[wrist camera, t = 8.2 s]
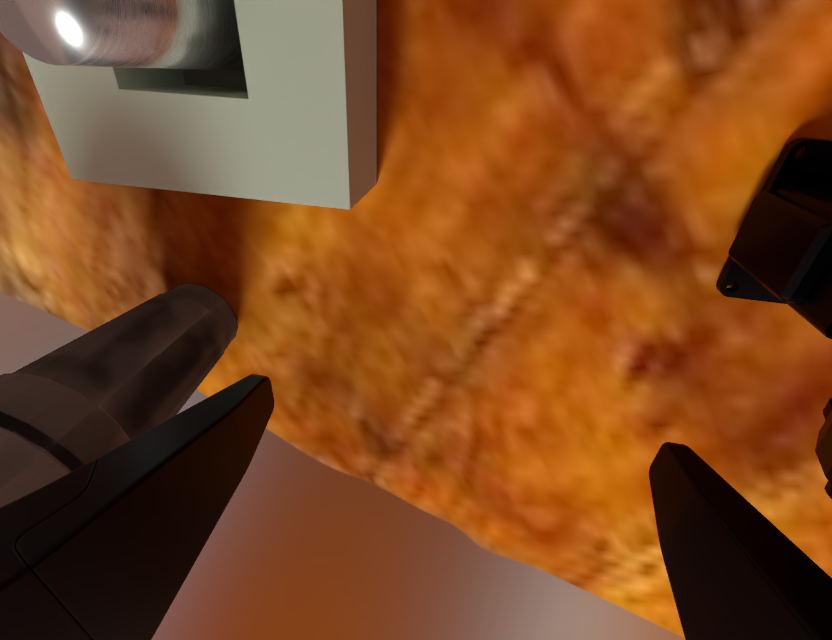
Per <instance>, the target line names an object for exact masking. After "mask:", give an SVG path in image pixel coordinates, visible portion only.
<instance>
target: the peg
mask: <svg viewBox="0 0 832 640" xmlns="http://www.w3.org/2000/svg"><path fill="white" fill-rule="evenodd" d="M0 32H1V33H2V34H3V35H4V37H6V38H7V39H8V40H9V41H10V42H11V43H12V44H13V45H14V46H16V47H17V48H18V49H20V50H21V51H22V52H24V53H25V54H27V55H29V56H30V57H32V58H34V59H36V60H38V61H41V62H44V63H47V64H51V65H63V66H96V67H130V68H163V69H196V70H230V71H241V70H244V64H243V58H242V51H241V44H240V37H239V31H238V24H237V17H236V10H235V4H234V0H0Z"/></svg>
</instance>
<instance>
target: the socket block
mask: <svg viewBox="0 0 832 640" xmlns="http://www.w3.org/2000/svg"><path fill="white" fill-rule="evenodd" d="M234 4H235V10H236V17H237V24H238V31H239V37H240V44H241V51H242V58H243V64H244V70H241V71H230V70H196V69H163V68H130V67H96V66H63V65H51V64H47V63H44V62H41V61H38V60H36V59H34V58H32V57H30V56H29V55H27V54H25V53H24V52H23V55H24V57H25V60H26V62H27V65H28V67H29V70H30V73H31V75H32V78H33V80H34V83H35V85H36V88H37V90H38V93H39V96H40V98H41V101H42V103H43V106H44V108H45V111H46V114H47V116H48V119H49V121H50V124H51V126H52V129H53V132H54V134H55V137H56V139H57V142H58V144H59V147H60V150H61V152H62V155H63V157H64V160H65V162H66V165H67V167H68V170H69V173H70V175H71V178H72V180H80V181H90V182H99V183H108V184H117V185H127V186H136V187H145V188H154V189H164V190H173V191H182V192H192V193H201V194H210V195H219V196H229V197H238V198H247V199H256V200H266V201H275V202H284V203H293V204H303V205H312V206H321V207H330V208H340V209H349V210H350V209H351V208H352V207H353V206H354V205H355V204H356V203H357V202H358V201H359V200H360V199H361V198H362V197H364V196H365V195H366V194H367V193H368V192H369V191H370V190H371V189H372V188H373V187H374V186H375V185H376V184H377V0H234Z"/></svg>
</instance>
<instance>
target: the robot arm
mask: <svg viewBox="0 0 832 640" xmlns="http://www.w3.org/2000/svg"><path fill="white" fill-rule="evenodd" d="M802 147H805V152H804V154H803V155H802V156H801V157H799V158H798V159H795V153H796V152H797V151H798V150H799V149H801V148H802ZM728 253H729V255H730V256H729V258H728V260H727V262H726V264H725V266H724V268H723V270H722V272H721V274H720V276H719V278H718V280H717V284H716V287H717V289H718V290H719V291H720V292H721V293H722V294H723V295H724V296H727V297H734V298H742V299H750V300H758V301H767V302H775V303H783V304H788V305H789V306H790V307H792V308H793V309H794V310H795V311H796V312H798V313H799V314H800V315H801V316H802V317H804V318H805V319H806V320H807V321H808V322H809V323H811V324H812V325H813V326H814V327H815V328H817V329H818V330H819V331H820V332H821V333H822V334H824V335H825V336H826V337H827V338H830V339H832V140H828V139H815V138H798V139H795V140H793V141H791V142H790V143H789V144H787V145H786V146H785V148H784V149H783V150H782V152H781V154H780V156H779V158H778V160H777V162H776V164H775V166H774V168H773V170H772V172H771V174H770V176H769V178H768V180H767V182H766V184H765V186H764V188H763V190H762V192H761V193H760V194H759V195H758V196H756V197H755V199H754V201H753V203H752V205H751V207H750V209H749V211H748V213H747V215H746V217H745V219H744V221H743V223H742V225H741V227H740V229H739V231H738V234H737V236H736V238H735V240H734V242H733V244H732V246H731V248H730V250H729V252H728ZM731 282H736V283H735V284H734V286H732V287H730V288H727V285H728V284H729V283H731ZM273 408H274V397H273V392H272V386H271V381H270V379H269V377H267V376H262V375H256V374H252V375H249V376H247V377H245V378H244V379H242V380H240V381H238V382H236V383H234V384H232V385H231V386H229V387H227V388H225V389H223V390H221V391H220V392H218V393H216V394H214V395H212V396H210V397H209V398H207V399H205V400H203V401H201V402H199V403H198V404H196V405H194V406H192V407H190V408H188V409H187V410H185V411H183V412H181V413H179V414H177V415H176V416H174V417H172V418H170V419H168V420H166V421H164V422H163V423H161V424H159V425H157V426H155V427H153V428H152V429H150V430H148V431H146V432H144V433H142V434H141V435H139V436H137V437H135V438H133V439H131V440H130V441H128V442H126V443H124V444H122V445H120V446H119V447H117V448H115V449H113V450H111V451H109V452H107V453H106V454H104V455H102V456H100V457H99V459H94V460H93V461H91V462H89V463H87V464H85V465H83V466H82V467H80V468H78V469H76V470H74V471H72V472H70V473H68V474H66V475H65V476H63V477H61V478H59V479H57V480H55V481H53V482H51V483H49V484H47V485H46V486H43V487H41V488H39V489H37V490H35V491H33V492H31V493H29V494H27V495H25V496H23V497H21V498H19V499H17V500H15V501H13V502H11V503H9V504H7V505H4V506H2V507H0V640H151V639H152V637H153V636H154V634H155V632H156V630H157V629H158V627H159V625H160V623H161V621H162V620H163V618H164V616H165V614H166V613H167V611H168V609H169V607H170V605H171V604H172V602H173V600H174V598H175V597H176V595H177V593H178V591H179V590H180V588H181V586H182V584H183V582H184V581H185V579H186V577H187V575H188V574H189V572H190V570H191V568H192V566H193V565H194V563H195V561H196V559H197V557H198V556H199V554H200V552H201V551H202V549H203V547H204V545H205V543H206V542H207V540H208V538H209V536H210V534H211V533H212V531H213V529H214V528H215V526H216V524H217V522H218V520H219V519H220V517H221V515H222V513H223V512H224V510H225V508H226V506H227V504H228V503H229V501H230V499H231V497H232V496H233V494H234V492H235V490H236V489H237V487H238V485H239V483H240V481H241V480H242V478H243V476H244V474H245V472H246V470H247V468H248V467H249V465H250V462H251V460H252V458H253V456H254V453H255V451H256V449H257V446H258V444H259V441H260V440H261V437H262V435H263V432H264V430H265V428H266V426H267V423H268V421H269V419H270V416H271V414H272V412H273ZM823 414H824V417H825V420H826V421H825V423H824V424H823V426H822V428H821V429H820V431H819V435H818V440H817V444H816V449H815V451H816V454H817V456H818V459H819V462H820V464H821V467H822V469H823V472H824V474H825V476H826V478H827V479H828V482H827V484H826V486H825V490H826V493H827V494H828V495H829V496H830V498H831V499H832V398H830V399H829V401H828V403H827V404H826V406H825V408H824V409H823ZM649 479H650V486H651V492H652V498H653V505H654V511H655V517H656V524H657V530H658V536H659V541H660V547H661V551H662V555H663V559H664V563H665V566H666V570H667V573H668V577H669V581H670V584H671V588H672V592H673V595H674V599H675V603H676V606H677V610H678V614H679V617H680V621H681V625H682V628H683V632H684V636H685V639H686V640H832V578H831V577H830V576H829V575H827V574H826V573H825V572H824V571H823V570H822V569H821V568H820V567H819V566H818V565H817V564H815V563H814V562H813V561H812V560H811V559H810V558H809V557H808V556H807V555H806V554H805V553H803V552H802V551H801V550H800V549H799V548H798V547H797V546H796V545H795V544H794V543H793V542H792V541H790V540H789V539H788V538H787V537H786V536H785V535H784V534H783V533H782V532H781V531H780V530H778V529H777V528H776V527H775V526H774V525H773V524H772V523H771V522H770V521H769V520H768V519H766V518H765V517H764V516H763V515H762V514H761V513H760V512H759V511H758V510H757V509H756V508H755V507H753V506H752V505H751V504H750V503H749V502H748V501H747V500H746V499H745V498H744V497H743V496H741V495H740V494H739V493H738V492H737V491H736V490H735V489H734V488H733V487H732V486H731V485H729V484H728V483H727V482H726V481H725V480H724V479H723V478H722V477H721V476H720V475H719V474H718V473H716V472H715V471H714V470H713V469H712V468H711V467H710V466H709V465H708V464H707V463H706V462H704V461H703V460H702V459H701V458H700V457H699V456H698V455H697V454H696V453H695V452H694V451H692V450H691V449H690V448H689V447H688V446H686V445H683V444H677V443H671V442H666V443H664V444H662V446H661V447H660V449H659V451H658V453H657V455H656V457H655V458H654V460H653V462H652V464H651V466H650V469H649Z"/></svg>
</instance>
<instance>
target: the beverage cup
mask: <svg viewBox="0 0 832 640" xmlns="http://www.w3.org/2000/svg"><path fill="white" fill-rule="evenodd" d="M236 332H237V322H236V318H235V316H234V313H233V311H232V309H231V308H230V306H229V305H228V304H227V303H226V302H225V300H224V299H223V298H221V297H220V296H219V295H218V294H216V293H215V292H214V291H212V290H210V289H208V288H206V287H204V286H201V285H196V284H192V283H190V284H181V285H179V286H177V287H175V288H173V289H172V290H170V291H168V292H166V293H164V294H159V295H157V296H156V297H154V298H152V299H150V300H148V301H146V302H144V303H142V304H141V305H139V306H137V307H135V308H133V309H131V310H129V311H128V312H126V313H124V314H122V315H120V316H118V317H116V318H114V319H113V320H111V321H109V322H107V323H105V324H103V325H101V326H99V327H98V328H96V329H94V330H92V331H90V332H88V333H87V334H85V335H83V336H81V337H79V338H77V339H75V340H73V341H71V342H70V343H68V344H66V345H64V346H62V347H60V348H58V349H56V350H55V351H53V352H51V353H49V354H47V355H45V356H43V357H42V358H40V359H38V360H36V361H34V362H32V363H30V364H29V365H27V366H25V367H23V368H21V369H19V370H18V371H16V372H13V373H12V374H3V375H0V507H2V506H4V505H7V504H9V503H11V502H13V501H15V500H17V499H19V498H21V497H23V496H25V495H27V494H29V493H31V492H33V491H35V490H37V489H39V488H41V487H43V486H46V485H47V484H49V483H51V482H53V481H55V480H57V479H59V478H61V477H63V476H65V475H66V474H68V473H70V472H72V471H74V470H76V469H78V468H80V467H82V466H83V465H85V464H87V463H89V462H91V461H93V460H94V459H99V457H100V456H102V455H104V454H106V453H107V452H109V451H111V450H113V449H115V448H117V447H119V446H120V445H122V444H124V443H126V442H128V441H130V440H131V439H133V438H135V437H137V436H139V435H141V434H142V433H144V432H146V431H148V430H150V429H152V428H153V427H155V426H157V425H159V424H161V423H163V422H164V421H166V420H168V419H170V418H172V417H174V416H176V414H177V413H178V412H179V410H180V409H181V408H182V407H183V405H184V404H185V403H186V401H187V400H188V399H189V398H190V396H191V395H192V394H193V392H194V391H195V390H196V389H197V387H198V386H199V385H200V383H201V382H202V381H203V379H204V378H205V377H206V376H207V374H208V373H209V372H210V370H211V369H212V368H213V367H214V365H215V364H216V363H217V361H218V360H219V359H220V358H221V356H222V355H223V354H224V351H225V349H226V348H227V346H228V345H229V344H230V342H231V341H232V340H233V339H234V337H235V336H236Z"/></svg>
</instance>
